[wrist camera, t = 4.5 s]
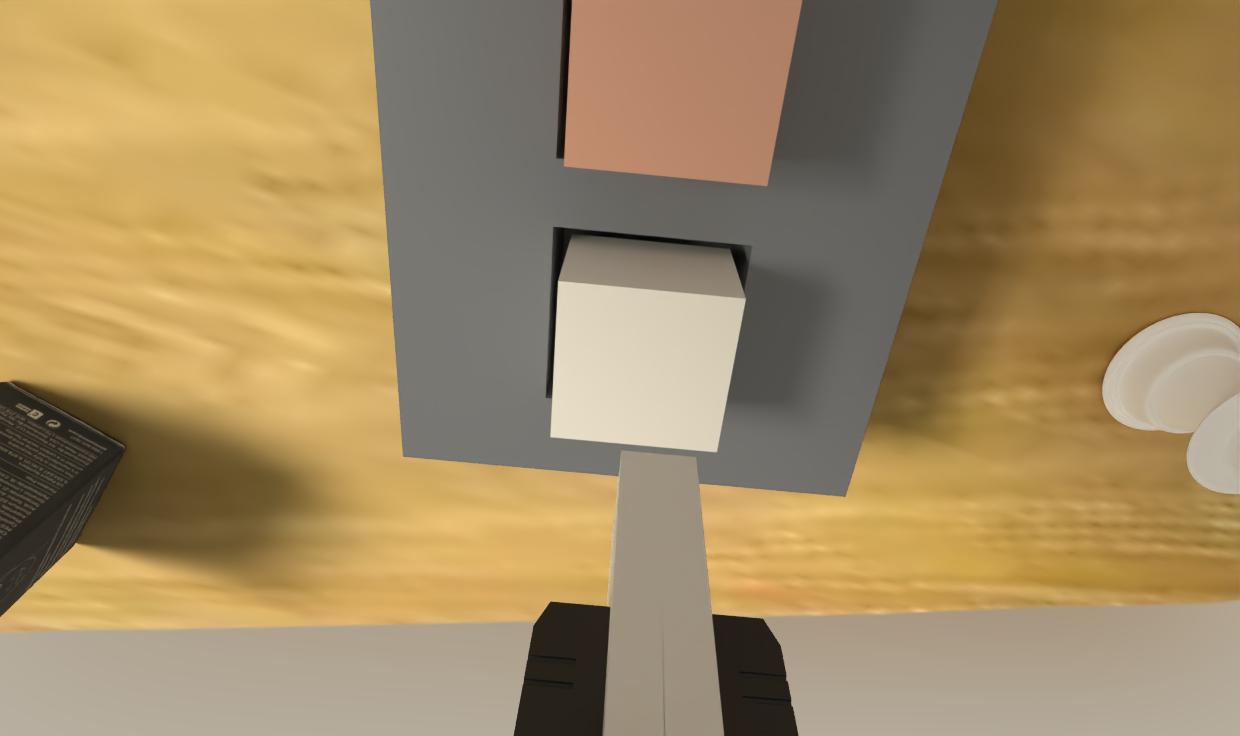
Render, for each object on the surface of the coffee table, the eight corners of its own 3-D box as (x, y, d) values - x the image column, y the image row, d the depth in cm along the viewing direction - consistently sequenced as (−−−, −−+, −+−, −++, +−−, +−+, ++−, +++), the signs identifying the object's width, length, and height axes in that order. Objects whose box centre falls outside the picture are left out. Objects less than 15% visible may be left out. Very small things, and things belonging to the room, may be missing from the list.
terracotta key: (577, 135, 21) (564, 166, 17) (589, -63, 18) (575, -75, 15) (746, 152, 21) (767, 186, 17) (779, -44, 18) (811, -50, 15)
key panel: (439, 386, 30) (403, 456, 25) (396, -660, 16) (305, -898, 12) (816, 421, 30) (845, 496, 26) (1082, -582, 16) (1239, -786, 12)
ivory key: (564, 372, 25) (550, 437, 21) (571, 233, 22) (557, 281, 19) (706, 385, 25) (716, 452, 21) (729, 249, 22) (746, 298, 19)
